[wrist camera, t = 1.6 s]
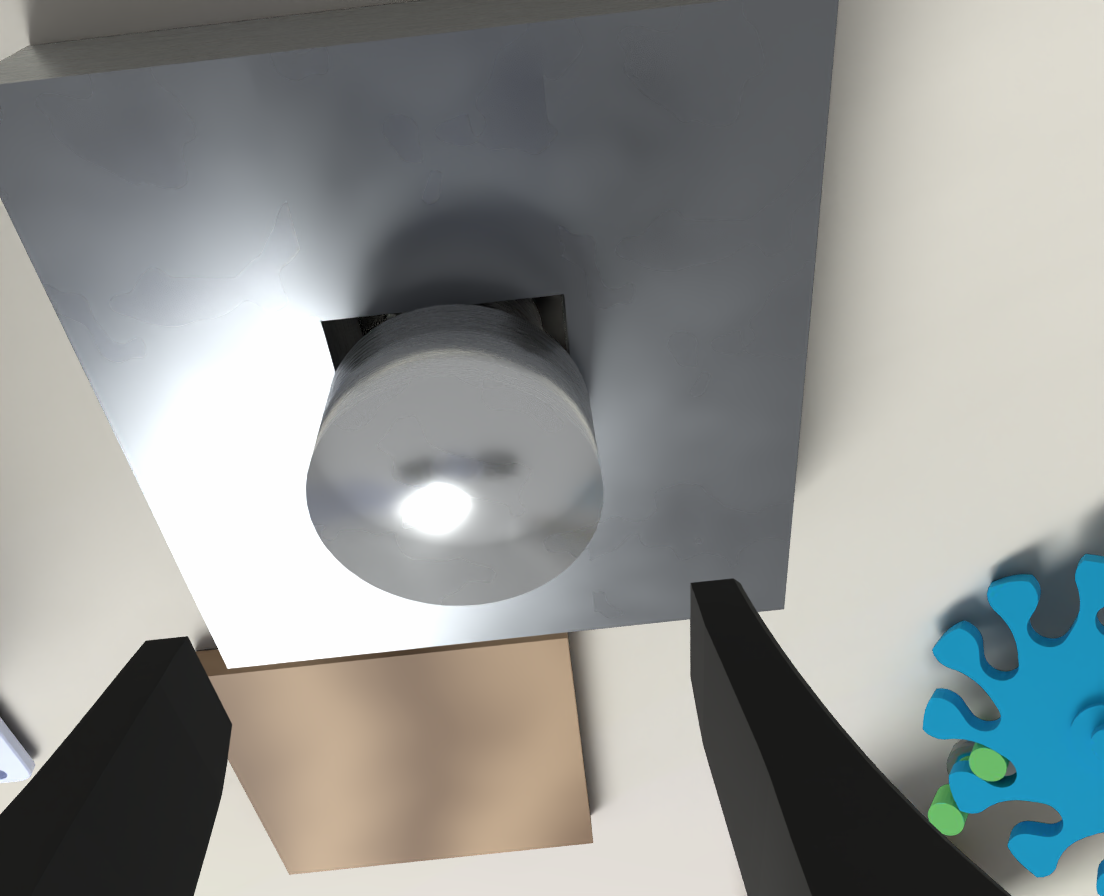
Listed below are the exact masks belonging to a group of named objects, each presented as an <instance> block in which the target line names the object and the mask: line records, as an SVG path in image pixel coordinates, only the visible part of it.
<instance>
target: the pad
mask: <svg viewBox="0 0 1104 896" xmlns="http://www.w3.org/2000/svg"><path fill="white" fill-rule="evenodd" d="M196 654H197V656H198V658H199V660H200V662H201V664H202V666H203V667H204V669H205V671H206V673H207V675H208V677H209V679H210V681H211V683H212V685H213V687H214V689H215V691H216V693H217V695H218V697H219V699H220V701H221V703H222V705H223V707H224V709H225V711H226V713H227V715H228V717H229V719H230V721H231V723H232V730H231V738H230V745H229V753H228V760H229V762H230V764H231V766H232V768H233V770H234V771H235V773H236V775H237V777H238V779H239V781H240V783H241V785H242V786H243V788H244V790H245V792H246V794H247V796H248V798H249V800H250V801H251V803H252V805H253V807H254V809H255V811H256V813H257V815H258V816H259V818H260V820H261V822H262V824H263V826H264V828H265V830H266V831H267V833H268V835H269V837H270V839H271V841H272V843H273V845H274V847H275V848H276V850H277V852H278V854H279V856H280V858H281V860H282V862H283V863H284V865H285V867H286V869H287V871H288V873H289V875H290V874H300V873H310V872H319V871H329V870H338V869H348V868H358V867H367V866H377V865H386V864H396V863H406V862H415V861H425V860H434V859H444V858H454V857H463V856H473V855H482V854H492V853H502V852H511V851H521V850H530V849H540V848H550V847H559V846H569V845H579V844H588V843H593V836H592V826H591V816H590V808H589V800H588V792H587V784H586V776H585V768H584V760H583V752H582V744H581V736H580V728H579V720H578V712H577V704H576V696H575V688H574V680H573V672H572V664H571V656H570V648H569V640H568V632H565V633H556V634H546V635H537V636H528V637H518V638H509V639H500V640H490V641H481V642H472V643H462V644H453V645H444V646H434V647H425V648H416V649H406V650H397V651H388V652H378V653H369V654H360V655H350V656H341V657H332V658H322V659H313V660H304V661H294V662H285V663H276V664H266V665H257V666H247V667H238V668H229V669H228V668H227V666H226V664H225V662H224V660H223V658H222V656H221V653H220V651H219V649H215V650H206V651H196Z"/></svg>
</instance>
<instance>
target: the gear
mask: <svg viewBox="0 0 1104 896" xmlns="http://www.w3.org/2000/svg"><path fill="white" fill-rule="evenodd" d="M1075 582H1076V585H1077V588H1078V590H1079V596H1080V610H1079V613H1078V615H1077V617H1076V619H1075V621H1074V623H1073V624H1072V626H1071V627H1070V629H1069V630H1068V632H1067V633H1066V634H1065V635H1063V636H1062V637H1059V638H1046V637H1043V636H1041V635H1039V634H1038V633H1037V632H1036V631H1035V630H1034V629H1033V628H1032V625H1031V623H1030V617H1031V616H1032V614H1033V612H1034V611H1035V609H1036V607H1037V605H1038V602H1039V599H1040V596H1041V588H1040V585H1039V582H1038V581H1037V579H1036V578H1035V577H1034V576H1033V575H1030V574H1018V575H1012V576H1007V577H1003V578H1001V579H998V580H996V581H993V582H992V583H991V585H990V586H989V588H988V592H987V597H988V601H989V604H990V606H991V607H992V608H993V610H994V611H995V612H996V613H997V614H999V615H1000V616H1001V617H1002V619H1003V620H1004V621H1005V622H1006V624H1007V625H1008V626H1009V628H1010V630H1011V632H1012V633H1013V636H1014V639H1015V641H1016V645H1017V651H1018V661H1019V666H1018V667H1017V668H1016V669H1014V670H1012V671H1000V670H997V669H995V668H993V667H992V666H991V665H989V663H988V662H987V661H986V659H985V655H984V646H983V638H982V635H981V633H980V632H979V630H978V629H977V628H976V627H975V626H974V625H973V624H971V623H969V622H967V621H965V620H963V621H961V622H958V623H956V624H955V625H953V626H952V627H951V628H949V629H948V630H947V631H946V632H945V633H944V634H943V636H942V637H941V638H940V639H939V640H938V642H937V643H936V645H935V646H934V648H933V650H932V651H933V653H934V656H935V657H936V658H937V660H938V661H939V662H940V663H941V664H943V665H944V666H946V667H948V668H951V669H954V670H957V671H959V672H961V673H963V674H965V675H967V676H968V677H970V678H971V679H972V680H974V681H975V682H976V683H978V684H979V685H980V686H981V687H982V688H983V689H984V690H985V692H986V693H987V694H988V695H989V696H990V698H991V699H992V701H993V702H994V704H995V705H996V707H997V708H998V710H999V712H1000V715H1001V717H1000V718H999V719H997V720H994V721H985V720H981V719H979V718H977V717H976V716H975V715H973V713H972V712H971V711H970V709H969V708H968V707H967V705H966V704H965V702H964V701H963V699H962V698H961V697H960V696H959V695H958V694H956V693H955V692H953V691H951V690H948V689H943V688H938V689H936V691H935V692H934V693H933V695H932V697H931V699H930V700H929V702H928V704H927V707H926V709H925V714H924V720H923V730H924V731H925V732H926V733H927V734H929V735H931V736H932V737H935V738H938V739H962V740H960V741H958V742H957V743H956V744H955V745H954V746H953V749H952V751H951V753H950V755H949V757H948V760H947V771H948V774H949V784H946V785H943V786H941V787H940V788H939V789H938V791H937V793H936V795H935V797H934V800H933V802H932V804H931V806H930V809H929V811H928V819H929V821H930V822H931V823H932V824H933V825H934V826H935V827H936V828H937V829H938V830H939V831H940V832H941V833H942V834H944V835H949V836H952V835H957V834H959V833H960V832H961V831H962V830H963V827H964V825H965V822H966V819H967V816H968V813H971V814H973V813H979V812H982V811H984V810H985V809H986V808H988V807H989V806H991V805H994V804H996V803H999V802H1003V801H1009V800H1023V801H1032V802H1038V803H1044V804H1047V805H1049V806H1051V807H1053V808H1054V809H1056V810H1057V811H1058V812H1059V814H1060V815H1061V817H1062V820H1061V821H1060V822H1057V823H1054V824H1047V823H1041V822H1035V821H1023V822H1020V823H1018V824H1017V825H1015V826H1014V828H1013V829H1012V831H1011V834H1010V838H1009V842H1008V848H1009V850H1010V851H1011V853H1012V854H1013V855H1014V857H1015V858H1016V859H1017V860H1018V861H1019V862H1020V863H1021V864H1022V865H1023V866H1024V867H1025V868H1026V869H1028V870H1029V871H1030V872H1031V873H1032V874H1034V875H1035V876H1036V877H1045V876H1048V875H1050V874H1051V873H1053V871H1054V870H1055V869H1056V866H1057V863H1058V860H1059V858H1060V856H1061V855H1062V853H1063V852H1064V851H1065V850H1066V849H1067V848H1068V847H1069V846H1070V845H1071V844H1073V843H1074V842H1076V841H1078V840H1080V839H1083V838H1085V837H1088V836H1091V835H1094V834H1098V833H1103V832H1104V626H1103V625H1102V624H1101V623H1100V621H1099V620H1098V617H1097V612H1098V611H1099V610H1100V609H1101V608H1103V607H1104V556H1098V555H1091V554H1085V555H1084V556H1083V557H1082V558H1081V559H1080V561H1079V563H1078V566H1077V569H1076V573H1075ZM1097 892H1098V894H1099V895H1100V896H1104V860H1103V861H1101V863H1100V864H1099V867H1098V874H1097Z"/></svg>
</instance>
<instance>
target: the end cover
mask: <svg viewBox="0 0 1104 896" xmlns="http://www.w3.org/2000/svg"><path fill="white" fill-rule="evenodd" d="M306 501H307V507H308V511H309V515H310V519H311V521H312V523H313V526H314V528H315V530H316V533H317V534H318V536H319V538H320V539H321V541H322V542H323V544H324V546H325V547H326V548H327V549H328V550H329V552H330V553H331V554H332V555H333V556H334V558H335V559H336V560H337V561H339V562H340V563H341V564H342V565H343V566H344V567H345V568H346V569H347V570H349V571H350V572H351V573H353V574H354V575H356V576H357V577H358V578H360V579H361V580H363V581H365V582H367V583H368V584H370V585H372V586H374V587H376V588H378V589H380V590H383V591H385V592H387V593H390V594H392V595H395V596H398V597H401V598H405V599H408V600H412V601H417V602H421V603H426V604H435V605H443V606H469V605H481V604H487V603H494V602H498V601H502V600H506V599H510V598H514V597H516V596H519V595H522V594H525V593H527V592H530V591H532V590H534V589H536V588H538V587H540V586H542V585H544V584H546V583H547V582H549V581H550V580H552V579H554V578H555V577H557V576H558V575H559V574H561V573H562V572H563V571H564V570H566V569H567V568H568V567H569V566H570V565H571V564H572V563H573V562H574V561H575V560H576V559H577V558H578V557H579V556H580V555H581V553H582V552H583V551H584V549H585V548H586V547H587V545H588V544H589V542H590V541H591V539H592V537H593V535H594V533H595V531H596V529H597V526H598V523H599V520H600V518H601V513H602V508H603V502H604V486H603V480H602V474H601V468H600V461H599V455H598V449H597V443H596V437H595V430H594V424H593V418H592V412H591V406H590V400H589V393H588V390H587V387H586V384H585V381H584V379H583V377H582V375H581V373H580V371H579V369H578V367H577V365H576V364H575V362H574V361H573V360H572V358H571V357H570V355H569V354H568V353H567V352H566V351H565V350H564V348H563V347H562V346H561V345H560V344H559V343H558V342H557V341H556V340H554V339H553V338H552V337H551V336H549V335H548V334H547V333H546V332H544V331H543V327H542V321H541V317H540V314H539V311H538V308H537V306H536V304H535V302H534V301H533V299H532V298H525V299H516V300H507V301H498V302H489V303H480V304H471V305H464V304H448V305H435V306H430V307H424V308H419V309H415V310H412V311H408V312H399V313H390V314H388V315H387V319H386V321H385V322H383V323H381V324H380V325H378V326H377V327H375V328H373V329H372V330H370V331H369V332H368V333H367V334H366V335H364V336H363V337H362V338H361V339H359V340H358V341H357V342H356V343H355V345H354V346H353V347H352V348H351V349H350V350H349V351H348V352H347V354H346V355H345V357H344V358H343V360H342V361H341V363H340V364H339V366H338V368H337V370H336V373H335V375H334V377H333V379H332V383H331V386H330V390H329V394H328V397H327V401H326V405H325V408H324V412H323V416H322V420H321V423H320V427H319V431H318V435H317V438H316V442H315V446H314V449H313V453H312V457H311V461H310V464H309V468H308V472H307V479H306Z"/></svg>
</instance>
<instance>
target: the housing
mask: <svg viewBox="0 0 1104 896" xmlns="http://www.w3.org/2000/svg"><path fill="white" fill-rule="evenodd" d="M838 1H839V0H419V1H410V2H402V3H393V4H384V5H376V6H367V7H359V8H350V9H341V10H333V11H324V12H315V13H307V14H298V15H290V16H281V17H272V18H264V19H255V20H246V21H238V22H229V23H220V24H212V25H203V26H195V27H186V28H177V29H169V30H160V31H151V32H143V33H134V34H126V35H117V36H108V37H100V38H91V39H82V40H74V41H65V42H56V43H48V44H39V45H31V46H27V47H25V48H23V49H22V50H20V51H18V52H16V53H14V54H13V55H11V56H9V57H7V58H6V59H4V60H2V61H0V198H1V200H2V202H3V204H4V206H5V208H6V210H7V212H8V214H9V216H10V218H11V220H12V223H13V225H14V227H15V229H16V231H17V233H18V235H19V237H20V239H21V241H22V243H23V245H24V247H25V249H26V252H27V254H28V256H29V258H30V260H31V262H32V264H33V266H34V268H35V270H36V272H37V274H38V276H39V278H40V281H41V283H42V285H43V287H44V289H45V291H46V293H47V295H48V297H49V299H50V301H51V303H52V305H53V308H54V310H55V312H56V314H57V316H58V318H59V320H60V322H61V324H62V326H63V328H64V330H65V332H66V334H67V337H68V339H69V341H70V343H71V345H72V347H73V349H74V351H75V353H76V355H77V357H78V359H79V361H80V363H81V366H82V368H83V370H84V372H85V374H86V376H87V378H88V380H89V382H90V384H91V386H92V388H93V390H94V392H95V395H96V397H97V399H98V401H99V403H100V405H101V407H102V409H103V411H104V413H105V415H106V417H107V419H108V421H109V424H110V426H111V428H112V430H113V432H114V434H115V436H116V438H117V440H118V442H119V444H120V446H121V448H122V450H123V453H124V455H125V457H126V459H127V461H128V463H129V465H130V467H131V469H132V471H133V473H134V475H135V477H136V479H137V482H138V484H139V486H140V488H141V490H142V492H143V494H144V496H145V498H146V500H147V502H148V504H149V506H150V508H151V511H152V513H153V515H154V517H155V519H156V521H157V523H158V525H159V527H160V529H161V531H162V533H163V535H164V537H165V540H166V542H167V544H168V546H169V548H170V550H171V552H172V554H173V556H174V558H175V560H176V562H177V564H178V566H179V569H180V571H181V573H182V575H183V577H184V579H185V581H186V583H187V585H188V587H189V589H190V591H191V593H192V595H193V598H194V600H195V602H196V604H197V606H198V608H199V610H200V612H201V614H202V616H203V618H204V620H205V622H206V624H207V627H208V629H209V631H210V633H211V635H212V637H213V639H214V641H215V643H216V645H217V647H218V649H219V651H220V653H221V656H222V658H223V660H224V662H225V664H226V666H227V668H228V669H229V668H238V667H247V666H257V665H266V664H276V663H285V662H294V661H304V660H313V659H322V658H332V657H341V656H350V655H360V654H369V653H378V652H388V651H397V650H406V649H416V648H425V647H434V646H444V645H453V644H462V643H472V642H481V641H490V640H500V639H509V638H518V637H528V636H537V635H546V634H556V633H565V632H575V631H584V630H593V629H603V628H612V627H621V626H631V625H640V624H649V623H659V622H668V621H677V620H687V619H690V583H693V582H703V581H712V580H721V579H731V578H734V579H735V580H737V581H738V582H739V583H741V585H742V587H743V589H744V590H745V592H746V594H747V596H748V597H749V599H750V601H751V602H752V604H753V606H754V607H755V609H756V611H757V612H761V611H771V610H780V609H784V604H785V592H786V581H787V570H788V559H789V548H790V537H791V525H792V514H793V503H794V492H795V481H796V470H797V459H798V447H799V436H800V425H801V414H802V403H803V392H804V380H805V369H806V358H807V347H808V336H809V325H810V314H811V302H812V291H813V280H814V269H815V258H816V247H817V236H818V224H819V213H820V202H821V191H822V180H823V169H824V157H825V146H826V135H827V124H828V113H829V102H830V91H831V79H832V68H833V57H834V46H835V35H836V24H837V12H838ZM560 294H561V297H562V308H563V318H564V328H565V338H566V348H567V353H568V354H569V355H570V357H571V358H572V360H573V361H574V362H575V364H576V365H577V367H578V369H579V371H580V373H581V375H582V377H583V379H584V381H585V384H586V387H587V390H588V393H589V400H590V406H591V412H592V418H593V424H594V430H595V437H596V443H597V449H598V455H599V461H600V468H601V474H602V480H603V486H604V502H603V508H602V513H601V518H600V520H599V523H598V526H597V529H596V531H595V533H594V535H593V537H592V539H591V541H590V542H589V544H588V545H587V547H586V548H585V549H584V551H583V552H582V553H581V555H580V556H579V557H578V558H577V559H576V560H575V561H574V562H573V563H572V564H571V565H570V566H569V567H568V568H567V569H566V570H564V571H563V572H562V573H561V574H559V575H558V576H557V577H555V578H554V579H552V580H550V581H549V582H547V583H546V584H544V585H542V586H540V587H538V588H536V589H534V590H532V591H530V592H527V593H525V594H522V595H519V596H516V597H514V598H510V599H506V600H502V601H498V602H494V603H487V604H481V605H469V606H443V605H435V604H426V603H421V602H417V601H412V600H408V599H405V598H401V597H398V596H395V595H392V594H390V593H387V592H385V591H383V590H380V589H378V588H376V587H374V586H372V585H370V584H368V583H367V582H365V581H363V580H361V579H360V578H358V577H357V576H356V575H354V574H353V573H351V572H350V571H349V570H347V569H346V568H345V567H344V566H343V565H342V564H341V563H340V562H339V561H337V560H336V559H335V558H334V556H333V555H332V554H331V553H330V552H329V550H328V549H327V548H326V547H325V546H324V544H323V542H322V541H321V539H320V538H319V536H318V534H317V533H316V530H315V528H314V526H313V523H312V521H311V519H310V515H309V511H308V507H307V501H306V479H307V472H308V468H309V464H310V461H311V457H312V453H313V449H314V446H315V442H316V438H317V435H318V431H319V427H320V423H321V420H322V416H323V412H324V408H325V405H326V401H327V397H328V394H329V390H330V386H331V383H332V379H333V377H334V375H335V373H336V370H337V368H338V366H339V364H340V363H341V361H342V360H343V358H344V357H345V355H346V354H347V352H348V351H349V350H350V349H351V348H352V347H353V346H354V345H355V343H356V342H357V341H358V340H359V339H361V338H362V337H363V334H362V331H361V327H360V323H359V319H358V317H363V316H372V315H381V314H390V313H399V312H408V311H412V310H415V309H419V308H424V307H430V306H435V305H448V304H464V305H471V304H480V303H489V302H498V301H507V300H516V299H525V298H534V297H543V296H551V295H560Z"/></svg>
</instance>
